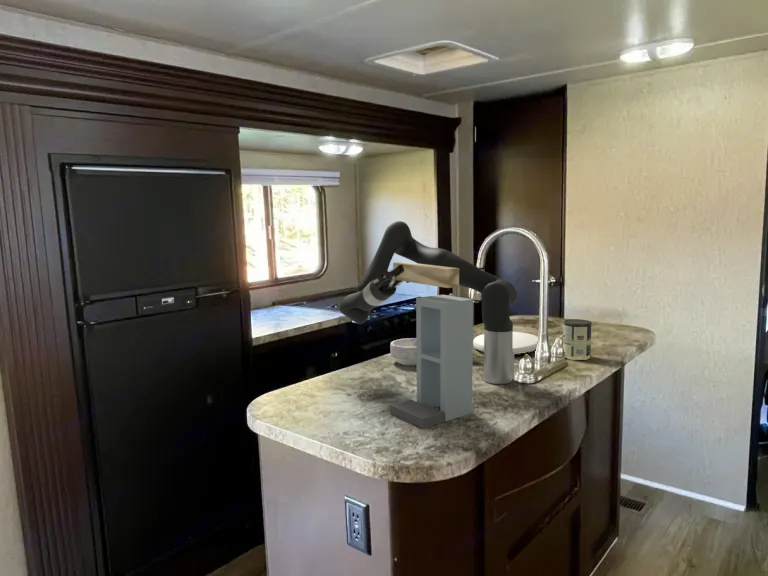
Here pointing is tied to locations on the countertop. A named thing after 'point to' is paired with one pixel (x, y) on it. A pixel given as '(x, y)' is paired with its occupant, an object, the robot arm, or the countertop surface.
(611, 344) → the countertop surface
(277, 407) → the countertop surface
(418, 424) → the charcoal block
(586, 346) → the coffee can
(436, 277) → the maple bar
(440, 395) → the slate stand
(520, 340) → the plate
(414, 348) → the white bowl
